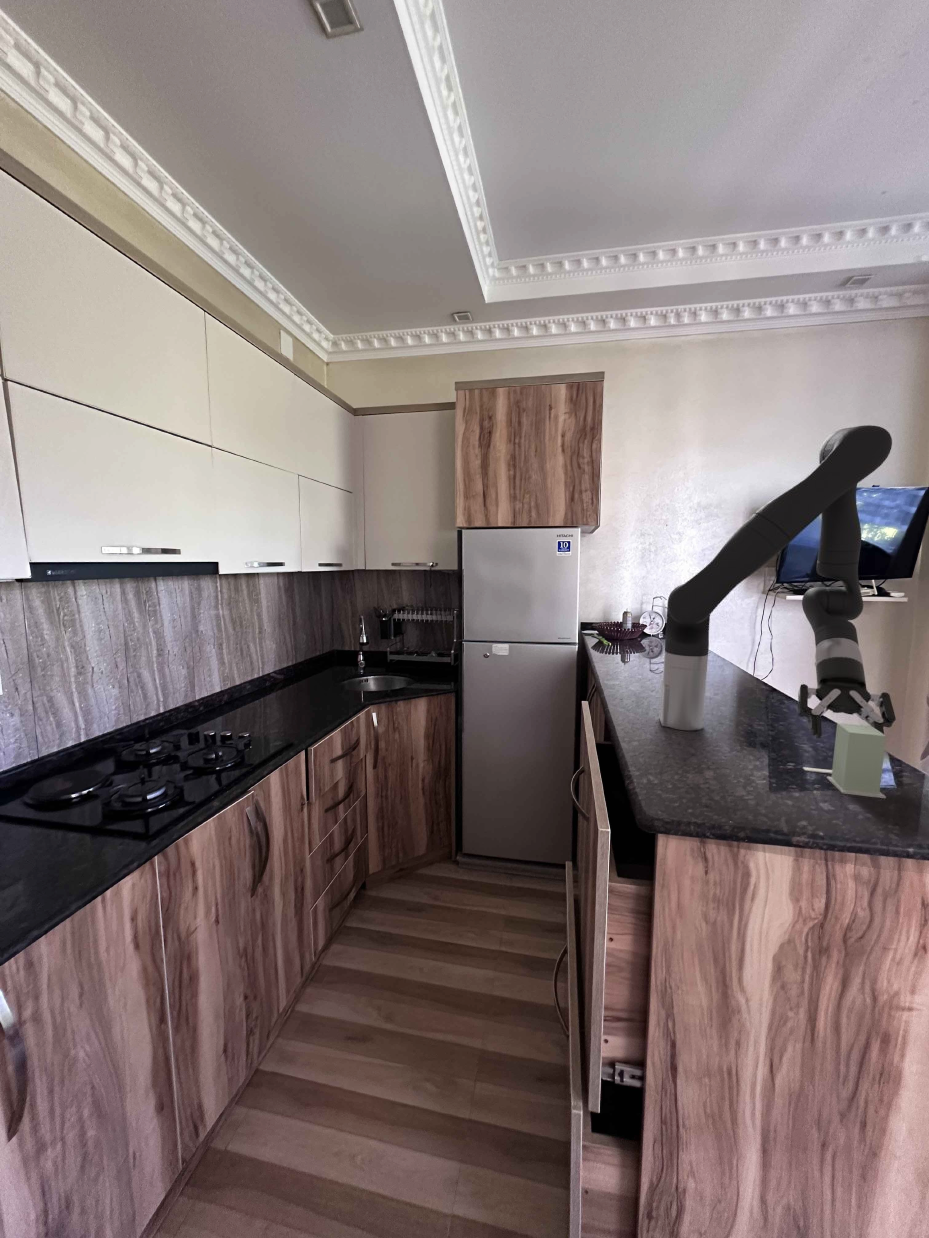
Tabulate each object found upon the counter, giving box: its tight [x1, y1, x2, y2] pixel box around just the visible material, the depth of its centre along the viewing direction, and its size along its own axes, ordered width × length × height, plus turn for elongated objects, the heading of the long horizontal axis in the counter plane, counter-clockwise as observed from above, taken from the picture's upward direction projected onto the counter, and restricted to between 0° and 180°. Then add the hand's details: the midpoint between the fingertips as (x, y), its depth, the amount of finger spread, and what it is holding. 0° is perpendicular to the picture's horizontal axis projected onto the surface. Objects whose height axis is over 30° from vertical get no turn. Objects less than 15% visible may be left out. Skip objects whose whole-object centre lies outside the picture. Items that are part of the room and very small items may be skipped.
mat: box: [826, 776, 887, 799], centre depth 83 cm, size 6×6×1 cm
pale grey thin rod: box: [802, 766, 884, 780], centre depth 89 cm, size 12×1×1 cm, turn 74°
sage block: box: [831, 722, 887, 795], centre depth 83 cm, size 5×5×10 cm
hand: (847, 740), depth 88 cm, fingers open, 8 cm apart
